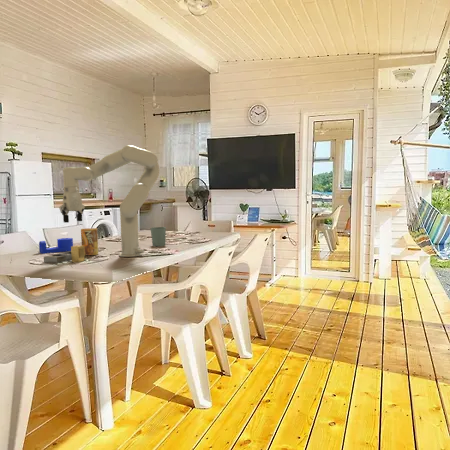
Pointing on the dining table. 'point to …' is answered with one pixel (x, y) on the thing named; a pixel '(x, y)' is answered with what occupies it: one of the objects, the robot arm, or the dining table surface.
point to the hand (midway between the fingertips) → (73, 221)
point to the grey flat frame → (58, 257)
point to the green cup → (158, 236)
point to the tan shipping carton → (77, 253)
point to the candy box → (90, 241)
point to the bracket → (63, 246)
